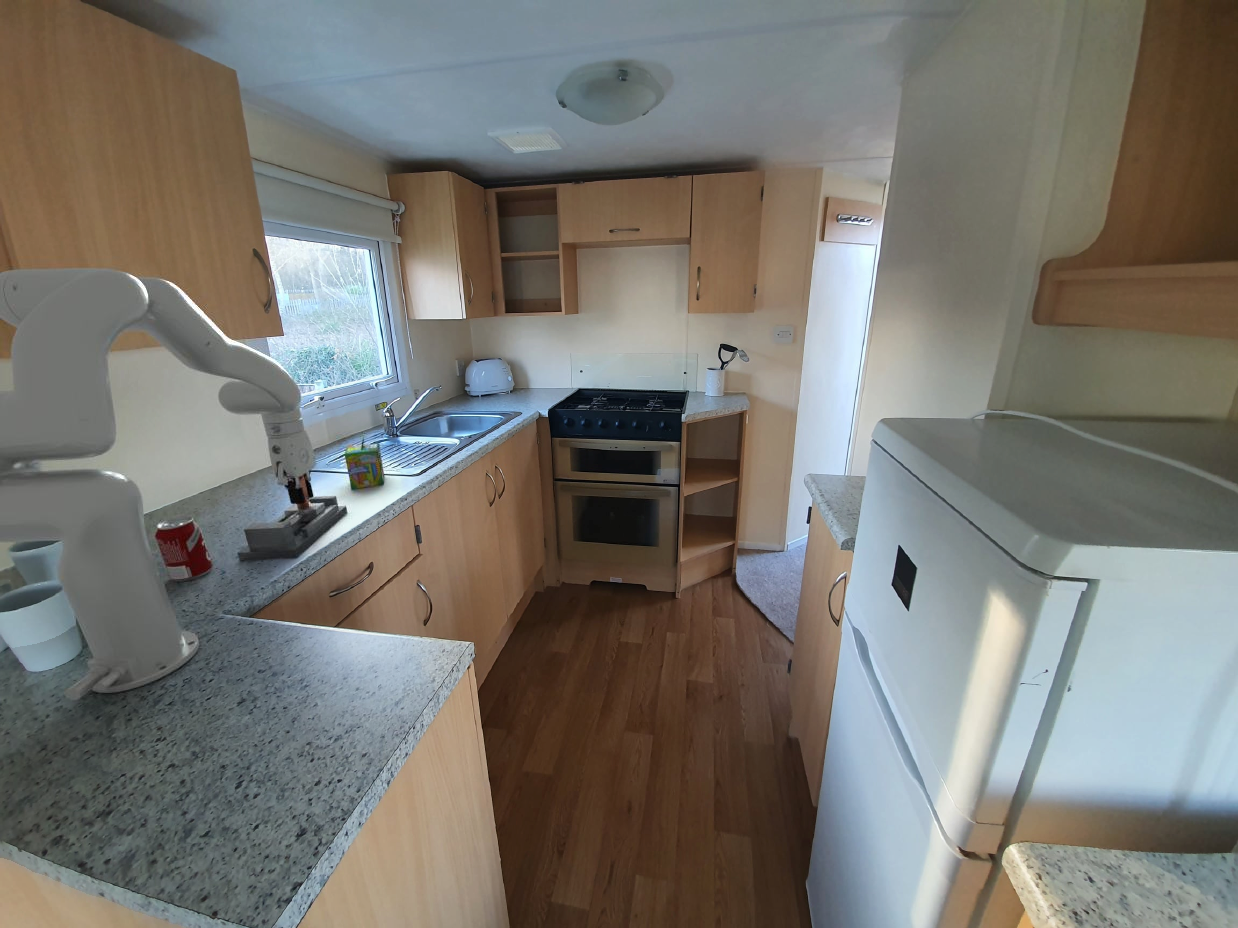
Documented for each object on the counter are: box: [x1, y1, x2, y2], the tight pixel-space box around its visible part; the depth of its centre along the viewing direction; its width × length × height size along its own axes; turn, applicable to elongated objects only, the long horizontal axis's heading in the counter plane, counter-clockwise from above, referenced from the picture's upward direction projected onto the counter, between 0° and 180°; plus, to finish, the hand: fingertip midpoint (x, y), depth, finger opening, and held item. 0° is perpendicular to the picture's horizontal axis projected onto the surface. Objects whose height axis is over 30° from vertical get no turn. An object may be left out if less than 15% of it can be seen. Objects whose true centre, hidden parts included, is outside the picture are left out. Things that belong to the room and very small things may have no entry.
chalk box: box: [344, 435, 385, 490], centre depth 147 cm, size 9×9×15 cm
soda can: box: [154, 516, 213, 582], centre depth 98 cm, size 7×7×12 cm
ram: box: [283, 475, 325, 528], centre depth 115 cm, size 10×7×11 cm
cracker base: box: [237, 495, 348, 562], centre depth 115 cm, size 24×12×7 cm, turn 4°
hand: (302, 499), depth 118 cm, fingers closed on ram, 2 cm apart
